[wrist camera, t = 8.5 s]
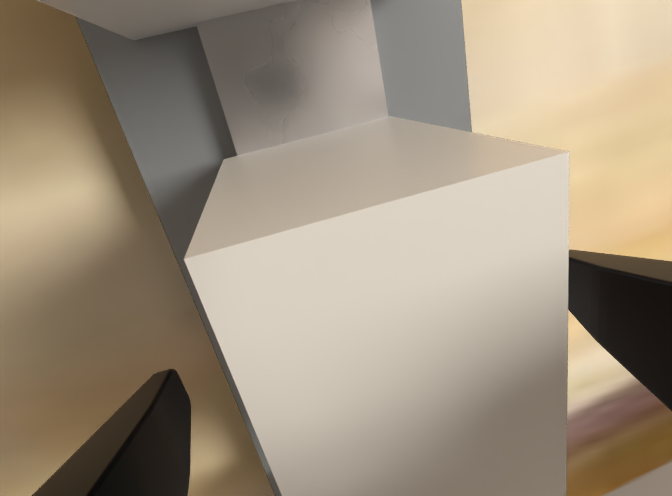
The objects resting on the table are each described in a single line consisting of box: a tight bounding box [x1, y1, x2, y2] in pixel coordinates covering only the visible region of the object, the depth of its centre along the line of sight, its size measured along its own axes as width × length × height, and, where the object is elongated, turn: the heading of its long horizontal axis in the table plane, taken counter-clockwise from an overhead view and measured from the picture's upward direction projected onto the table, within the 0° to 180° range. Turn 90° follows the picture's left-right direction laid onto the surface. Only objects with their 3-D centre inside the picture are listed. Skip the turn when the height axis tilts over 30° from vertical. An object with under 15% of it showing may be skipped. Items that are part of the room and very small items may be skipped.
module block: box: [184, 116, 570, 496], centre depth 9 cm, size 5×8×6 cm, turn 13°
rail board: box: [36, 0, 472, 496], centre depth 10 cm, size 9×23×7 cm, turn 13°
